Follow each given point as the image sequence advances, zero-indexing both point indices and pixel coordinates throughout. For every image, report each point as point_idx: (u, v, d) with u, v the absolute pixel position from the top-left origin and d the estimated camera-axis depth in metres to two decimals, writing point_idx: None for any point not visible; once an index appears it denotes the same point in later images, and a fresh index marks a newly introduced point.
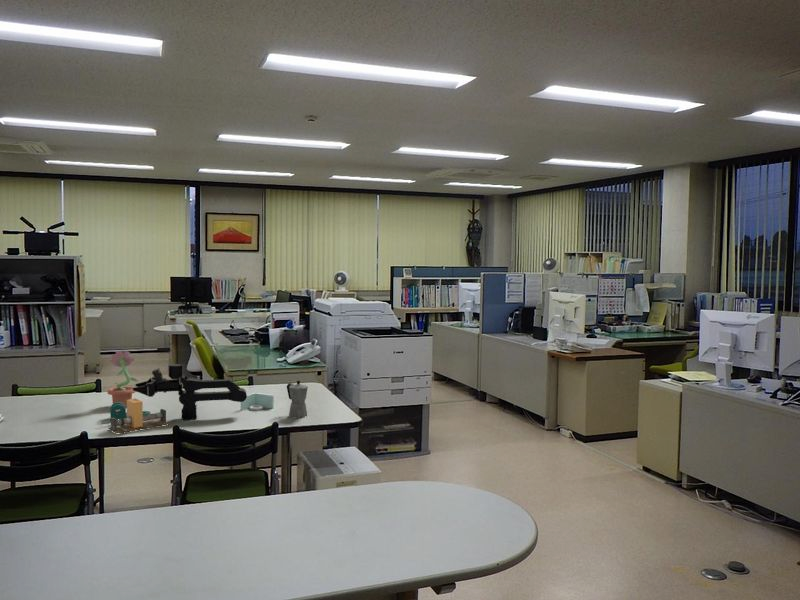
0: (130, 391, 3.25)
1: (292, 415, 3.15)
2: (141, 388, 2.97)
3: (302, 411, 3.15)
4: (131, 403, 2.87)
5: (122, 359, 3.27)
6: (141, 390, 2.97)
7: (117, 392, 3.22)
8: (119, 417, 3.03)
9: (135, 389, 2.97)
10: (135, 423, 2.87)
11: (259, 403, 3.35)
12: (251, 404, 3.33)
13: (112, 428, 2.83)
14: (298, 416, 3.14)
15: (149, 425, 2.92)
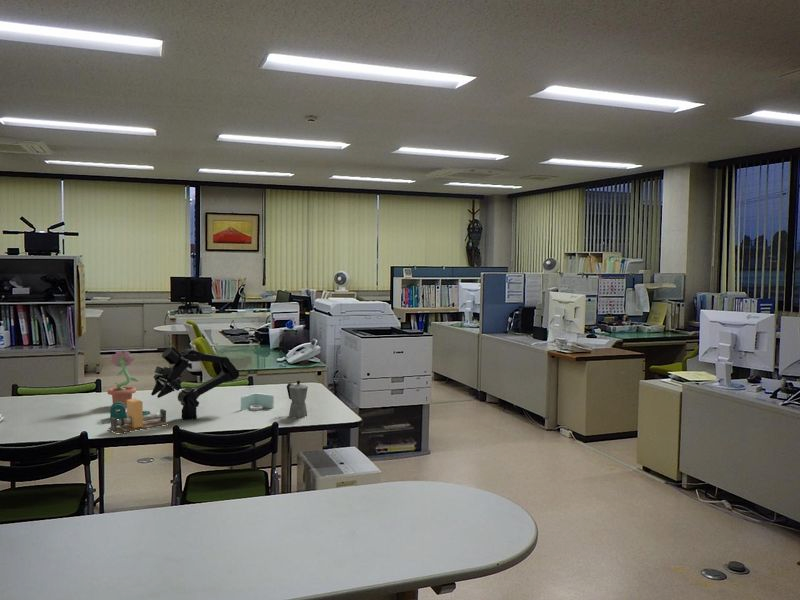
0: (130, 391, 3.25)
1: (292, 415, 3.15)
2: (164, 390, 2.95)
3: (302, 411, 3.15)
4: (131, 403, 2.87)
5: (122, 359, 3.27)
6: (165, 391, 2.95)
7: (117, 392, 3.22)
8: (119, 417, 3.03)
9: (160, 396, 2.94)
10: (135, 423, 2.87)
11: (259, 403, 3.35)
12: (251, 404, 3.34)
13: (112, 428, 2.83)
14: (298, 416, 3.14)
15: (149, 425, 2.92)
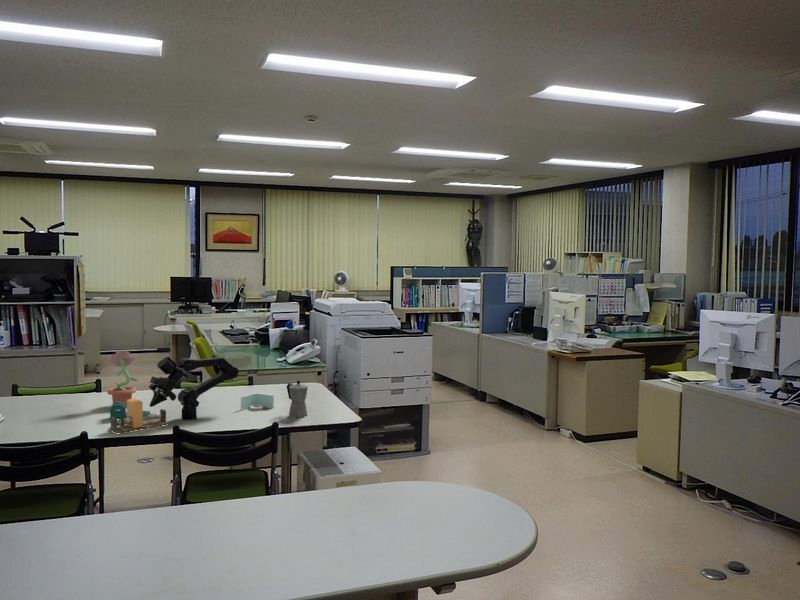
0: (130, 391, 3.25)
1: (292, 415, 3.15)
2: (156, 399, 2.96)
3: (302, 411, 3.15)
4: (131, 403, 2.87)
5: (122, 359, 3.27)
6: (158, 400, 2.96)
7: (117, 392, 3.22)
8: (119, 417, 3.04)
9: (152, 405, 2.95)
10: (135, 423, 2.87)
11: (259, 403, 3.36)
12: (251, 404, 3.34)
13: (112, 428, 2.83)
14: (298, 416, 3.14)
15: (149, 425, 2.92)
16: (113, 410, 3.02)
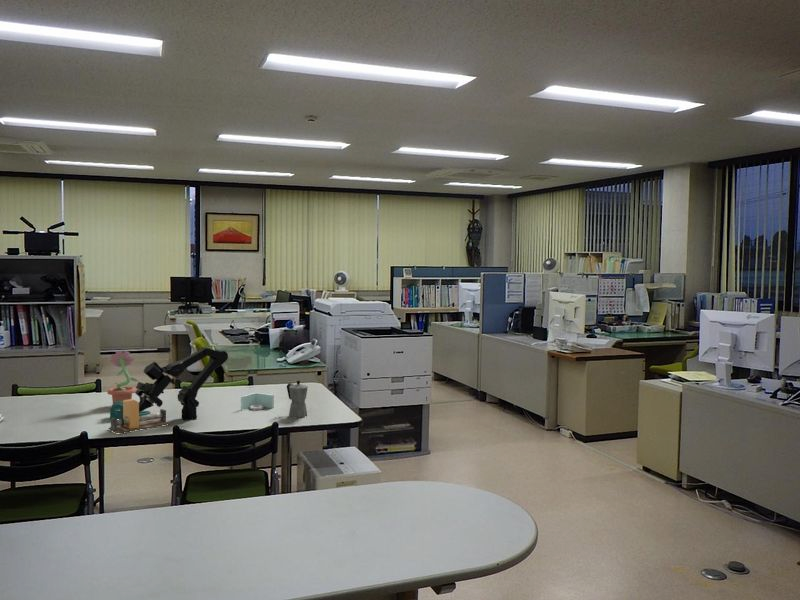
0: (130, 391, 3.25)
1: (292, 415, 3.15)
2: (142, 405, 2.91)
3: (302, 411, 3.15)
4: (127, 404, 2.86)
5: (122, 359, 3.27)
6: (144, 406, 2.92)
7: (117, 392, 3.22)
8: (118, 416, 3.04)
9: None
10: (131, 424, 2.85)
11: (259, 403, 3.36)
12: (251, 404, 3.34)
13: (112, 428, 2.83)
14: (298, 416, 3.14)
15: (149, 425, 2.92)
16: (113, 410, 3.03)
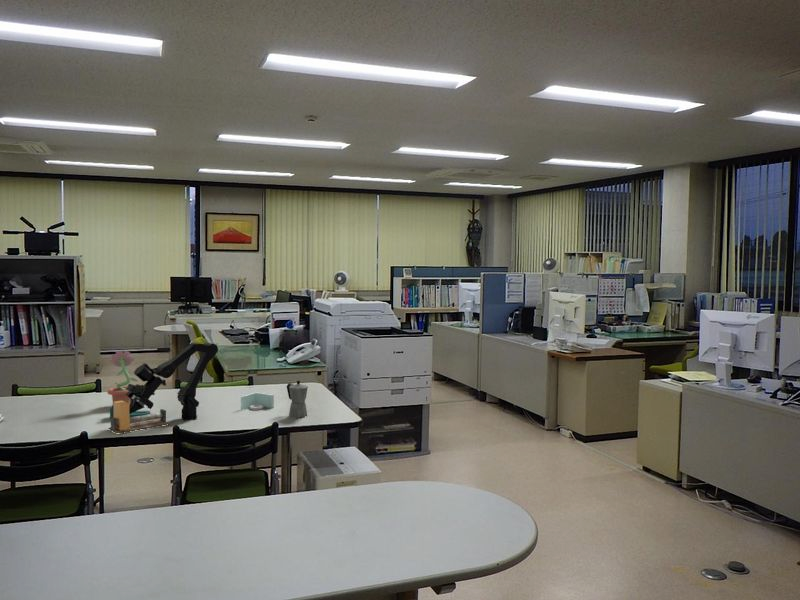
0: None
1: (292, 415, 3.15)
2: (133, 407, 2.88)
3: (302, 411, 3.15)
4: (118, 405, 2.83)
5: (122, 359, 3.27)
6: (134, 408, 2.89)
7: (117, 392, 3.22)
8: None
9: (129, 413, 2.88)
10: (122, 425, 2.82)
11: (259, 403, 3.36)
12: (251, 403, 3.34)
13: (112, 428, 2.83)
14: (298, 416, 3.14)
15: (149, 425, 2.92)
16: (113, 410, 3.03)
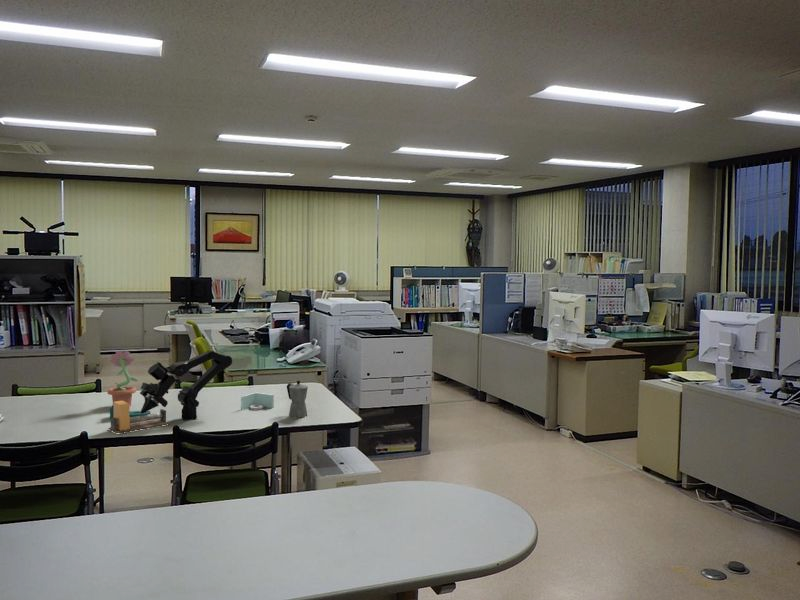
0: (130, 391, 3.25)
1: (292, 415, 3.15)
2: (147, 405, 2.93)
3: (302, 411, 3.15)
4: (118, 405, 2.83)
5: (122, 359, 3.27)
6: (149, 407, 2.93)
7: (117, 392, 3.22)
8: None
9: (143, 411, 2.92)
10: (122, 425, 2.82)
11: (259, 403, 3.36)
12: (251, 404, 3.35)
13: (112, 428, 2.83)
14: (298, 416, 3.14)
15: (149, 425, 2.92)
16: (113, 409, 3.04)
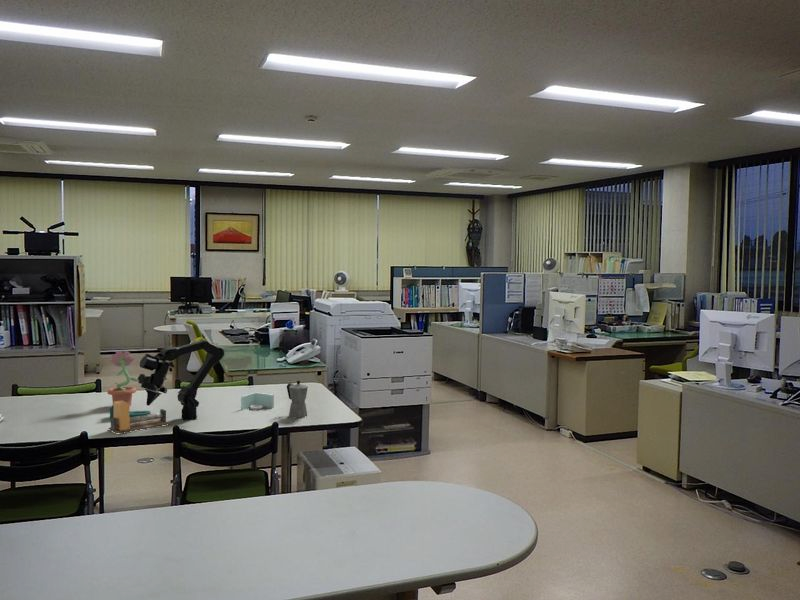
0: (130, 391, 3.25)
1: (292, 415, 3.15)
2: (149, 396, 2.94)
3: (302, 411, 3.15)
4: (118, 405, 2.83)
5: (122, 359, 3.27)
6: (151, 397, 2.94)
7: (117, 392, 3.22)
8: None
9: (148, 403, 2.94)
10: (122, 425, 2.82)
11: (259, 402, 3.37)
12: (251, 403, 3.35)
13: (112, 428, 2.83)
14: (298, 416, 3.14)
15: (149, 425, 2.92)
16: (113, 409, 3.04)
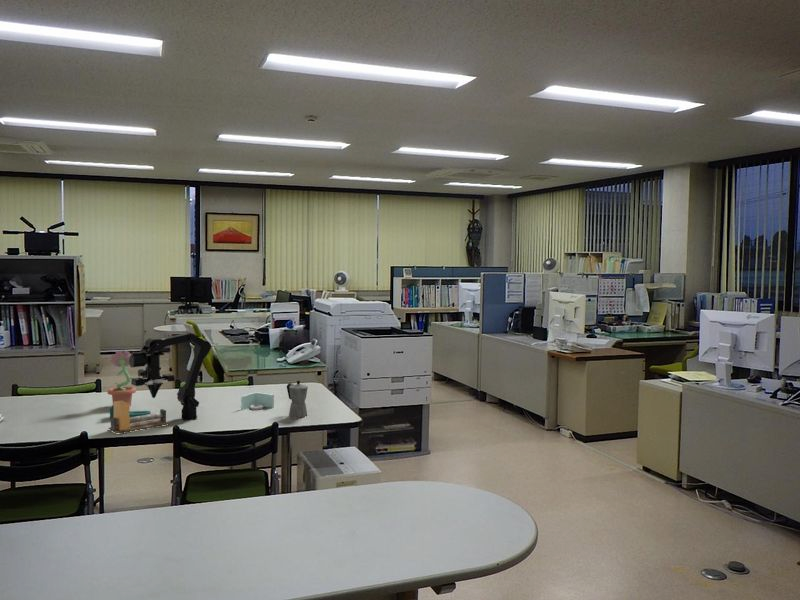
0: (130, 391, 3.25)
1: (292, 415, 3.15)
2: (150, 389, 2.95)
3: (302, 411, 3.15)
4: (118, 405, 2.83)
5: (122, 359, 3.27)
6: (151, 390, 2.94)
7: (117, 392, 3.22)
8: None
9: (152, 395, 2.95)
10: (122, 425, 2.82)
11: (259, 402, 3.37)
12: (251, 403, 3.35)
13: (112, 428, 2.83)
14: (298, 416, 3.14)
15: (149, 425, 2.92)
16: (113, 409, 3.04)
